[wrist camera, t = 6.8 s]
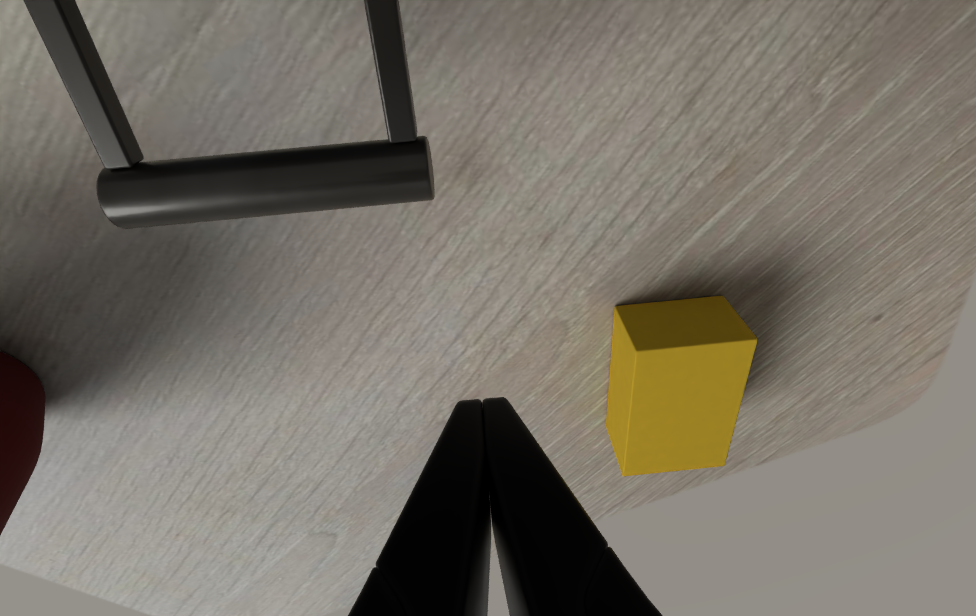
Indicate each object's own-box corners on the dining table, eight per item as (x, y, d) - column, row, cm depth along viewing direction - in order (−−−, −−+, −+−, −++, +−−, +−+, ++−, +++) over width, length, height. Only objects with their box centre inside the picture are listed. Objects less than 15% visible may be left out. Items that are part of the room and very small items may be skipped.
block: (614, 305, 22) (636, 351, 19) (723, 294, 22) (758, 338, 19) (605, 426, 26) (622, 476, 23) (698, 416, 26) (725, 466, 23)
